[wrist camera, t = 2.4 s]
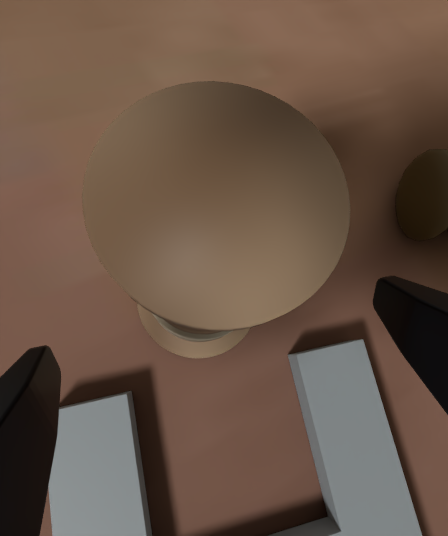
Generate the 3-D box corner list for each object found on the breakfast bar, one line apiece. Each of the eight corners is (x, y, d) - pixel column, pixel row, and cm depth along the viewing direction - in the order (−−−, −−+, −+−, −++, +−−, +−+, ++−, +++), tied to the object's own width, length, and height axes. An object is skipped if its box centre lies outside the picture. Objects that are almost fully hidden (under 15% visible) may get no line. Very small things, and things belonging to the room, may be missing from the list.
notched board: (421, 585, 16) (443, 607, 15) (82, 709, 14) (70, 751, 13) (349, 340, 19) (363, 339, 18) (54, 408, 17) (42, 413, 15)
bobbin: (271, 275, 20) (416, 140, 7) (224, 379, 18) (309, 431, 6) (174, 226, 20) (155, 13, 7) (117, 325, 18) (-30, 259, 6)
